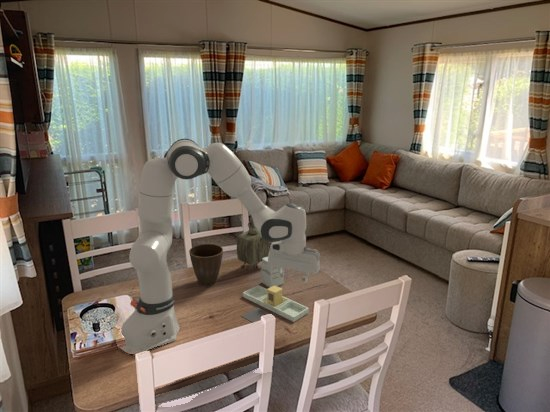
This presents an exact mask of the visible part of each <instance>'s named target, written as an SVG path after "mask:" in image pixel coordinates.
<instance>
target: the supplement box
mask: <svg viewBox="0 0 550 412" xmlns="http://www.w3.org/2000/svg"><path fill="white" fill-rule="evenodd" d="M281 269H282V271H283V272H285V268H281ZM284 277H285V276H284ZM284 277H279V272H278V270H277V266H272V265H269V263H268V257H265V258H262V261H261V283H262V284H263V285H265V286H266V287H268V288H270V287H272V286H274V285H275V286H277V287H280V286H283V285H284V284H285V283H284V281H285V279H284Z"/></svg>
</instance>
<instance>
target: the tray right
mask: <svg viewBox="0 0 550 412" xmlns="http://www.w3.org/2000/svg"><path fill="white" fill-rule="evenodd" d="M309 313H310V308H309V307H308V306H306V305H303V304H302V303H298V302H297V301H294V300H292V299H290V301H288V302H287V303H285V304H283V305H282V306H280V307H278V308H276V313H275V314H277V315H278V316H281V317H282V318H284V319H287V320H288V321H290V322H293V323H296V322H297V321H298V320H300V319H302V318H303V317H305V316H306V315H307V314H309Z"/></svg>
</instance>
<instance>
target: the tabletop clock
mask: <svg viewBox="0 0 550 412" xmlns="http://www.w3.org/2000/svg"><path fill="white" fill-rule="evenodd" d="M250 223H252V219H250V220H249V221H248V223H247V228H249V229H248V230H247V231H245V232H243V233H241V234H239V235H238V236H237V240H236V256H237V260H238V261H240V262H243V264H242V265H241V266H240V269H241V270H243V269H244V268H245V267H244V266H245V265H246V264H247V265H254V264H255V269H259V265H258V263H262V258H265V257H268V254H269V251H270V242H268V241H266V240H265V239H263V237H262V236H261V235H260V233H259V232H258V230H257V229H256V228H255V227H254V225H253V224H251V225H252V226H249V225H250Z"/></svg>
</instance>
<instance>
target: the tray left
mask: <svg viewBox="0 0 550 412" xmlns="http://www.w3.org/2000/svg"><path fill="white" fill-rule="evenodd" d="M267 289H268V288H265V287H264V286H262V285H259V284H257V285H255V286H253V287H251V288H249V289H247V290H244V291H243V292H242V298H244V299H246V300H249V301H251V302H252V303H255V304H256V305H259V300H260V299H262V298H264V297H266V296H267Z"/></svg>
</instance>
